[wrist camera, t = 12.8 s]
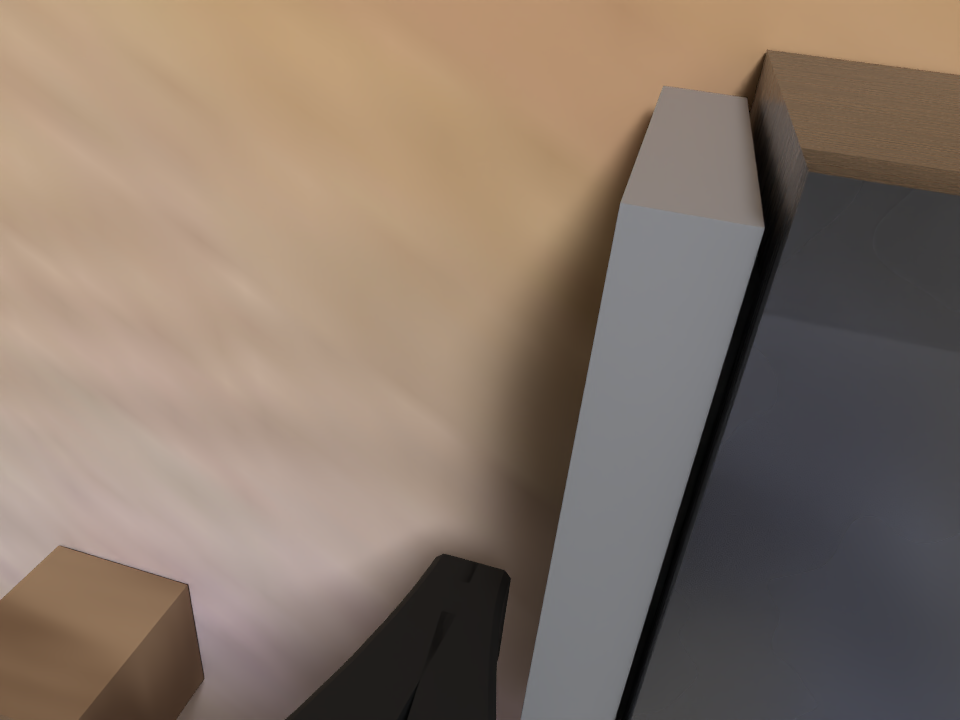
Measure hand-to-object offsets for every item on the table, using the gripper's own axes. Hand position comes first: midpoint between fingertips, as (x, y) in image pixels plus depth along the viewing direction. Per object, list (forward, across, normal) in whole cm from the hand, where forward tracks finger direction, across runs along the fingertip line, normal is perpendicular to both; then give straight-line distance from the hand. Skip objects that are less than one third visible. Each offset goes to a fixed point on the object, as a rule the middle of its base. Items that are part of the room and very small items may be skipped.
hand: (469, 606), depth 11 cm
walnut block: (+3, +9, +7) cm, 12 cm away
